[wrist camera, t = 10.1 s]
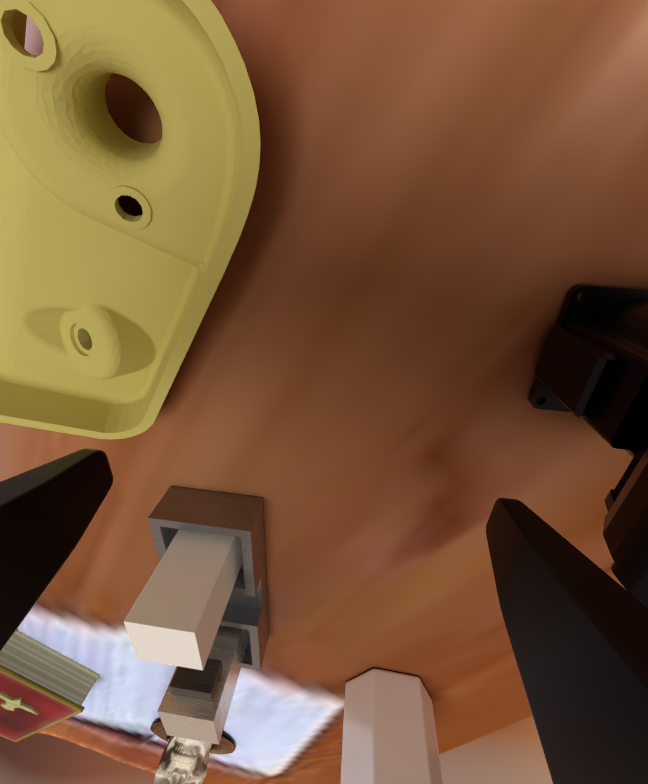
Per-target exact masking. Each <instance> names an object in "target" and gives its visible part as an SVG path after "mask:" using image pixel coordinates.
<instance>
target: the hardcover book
mask: <svg viewBox="0 0 648 784" xmlns="http://www.w3.org/2000/svg"><path fill="white" fill-rule="evenodd" d="M17 630H18V629H16V631H15V632H14V633H13V635H12V636H11V638H10V639H9V640H8V642H7V643H6V644H5V646H4V647H3V649H2V650H1V651H0V736H2V737H4V738H6V739H9V740H11V741H13V742H18V741H20V740H22V739H24V738H26V737H28V736H30V735H33V734H35V733H37V732H39V731H41V730H44V729H46V728H48V727H50V726H52V725H55V724H57V723H59V722H61V721H63V720H65V719H68V718H70V717H72V716H74V715H76V714H79V713H81V712H82V711H83V710H84V708H85V707H83V706H81V705H82V703H83V701H84V700H85V698H86V696H87V695H88V693H89V691H90V689H91V688H92V686H93V684H94V683H95V681H96V679H97V678H98V676H99V674H97V673H96V672H94V671H92V670H90V669H88V668H86V667H84V666H83V665H81V664H79V663H77V662H75V661H73V660H71V659H70V658H68V657H66V656H64V655H62V654H60V653H58V652H56V651H55V650H53V649H51V648H49V647H47V646H45V645H43V644H42V643H40V642H38V641H36V640H34V639H32V638H30V637H28V636H27V635H25V634H23V633H21V632H19V631H17Z"/></svg>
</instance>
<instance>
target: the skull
mask: <svg viewBox="0 0 648 784" xmlns="http://www.w3.org/2000/svg"><path fill="white" fill-rule="evenodd" d="M157 721H158V720H157ZM151 731H153V732H154V734H156V735H157V736H159V738H161V739H164V740H165V741H167V742H169V743H168V746H167V747H166V748H165V750H164V751H163V754H162V757H161V760H160V763H159V765H158V767H157V769H156V774H155V779H154V783H153V784H203V781H204V778H205V776H206V773H207V764H208V761H209V752H211V753H214V754H215V753H216V754H228V753H232V752H233V751H234V750H235V747H234V745H233V743H231V742H230V741H229V740H227V739H226V738H223V737H224V736H223V737H222V736H221V739H220V743H219V745H218V744H212V743H207V742H201V741H196V740H191V739H185V738H180V737H175V736H169V735H167V734H166V731H165V729H164V726H163V723H162V722H157V723H156V722H155V723H153V725H151ZM167 739H169V741H168V740H167Z"/></svg>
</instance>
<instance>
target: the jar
mask: <svg viewBox="0 0 648 784" xmlns="http://www.w3.org/2000/svg"><path fill="white" fill-rule="evenodd" d="M341 784H443V782H442V774H441V766H440V759H439V751H438V743H437V736H436V728H435V720H434V712H433V705H432V699H431V698H430V696H429V694H428V692H427V691H426V689H425V687H424V685H423V684H422V682H421V680H420V678H419V677H417V676H413V675H408V674H402V673H397V672H392V671H387V670H382V669H376V668H373V669H371V670H369V671H367V672H365V673H363V674H361V675H359V676H357V677H355V678H354V679H352V680H350V681H348V682H346V685H345V705H344V725H343V746H342V766H341Z"/></svg>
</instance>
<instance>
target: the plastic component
mask: <svg viewBox="0 0 648 784" xmlns="http://www.w3.org/2000/svg"><path fill="white" fill-rule="evenodd" d="M27 16H29V17H30V18H31V19H32V21H33V22H34V23H35V24H36V25H37V27H38V28H39V30H40V33H41V35H42V38H43V41H44V46H43V53H42V54H41V55H39V56H33V55H32V54H30V53H29V52H27V51H26V50H25V49H24V44H25V32H26V20H27ZM112 73H115V74H120V75H123V76H125V77H128V78H130V79H131V80H133V81H134V82H136V83H137V84H138V85H139V86H140V87H141V88H142V89H143V90H144V91H145V92H146V93H147V94H148V95H149V97H150V98H151V100H152V101H153V102H154V104H155V106H156V108H157V110H158V112H159V115H160V119H161V123H162V139H161V140H159V141H157V142H155V143H141V142H138V141H135V140H133V139H132V138H130V137H128V136H127V135H125V134H124V133H123V132H122V131H121V130H120V128H119V127H118V126H117V125H116V124H115V123H114V121H113V119H112V117H111V116H110V114H109V112H108V108H107V104H106V100H105V89H106V84H107V82H108V80H109V78H110V77H111V75H112ZM260 144H261V143H260V127H259V117H258V112H257V107H256V102H255V96H254V92H253V89H252V86H251V82H250V79H249V76H248V73H247V70H246V66H245V64H244V61H243V59H242V57H241V54H240V52H239V50H238V47H237V45H236V43H235V40H234V39H233V37H232V35H231V33H230V31H229V29H228V27H227V25H226V24H225V22H224V20H223V18H222V16H221V14H220V13H219V11H218V10H217V8H216V7H215V5H214V4H213V3H212V1H211V0H0V422H2V423H8V424H14V425H20V426H26V427H32V428H38V429H44V430H51V431H57V432H63V433H69V434H75V435H81V436H87V437H93V438H99V439H123V438H128V437H132V436H136V435H138V434H140V433H142V432H144V431H146V430H147V429H148V428H149V427H150V426H151V425H152V424H153V423H154V421H155V419H156V417H157V415H158V413H159V411H160V408H161V406H162V404H163V402H164V400H165V398H166V396H167V394H168V391H169V389H170V387H171V385H172V383H173V381H174V379H175V377H176V374H177V372H178V370H179V368H180V366H181V364H182V362H183V359H184V357H185V355H186V353H187V351H188V349H189V347H190V345H191V342H192V340H193V338H194V336H195V334H196V332H197V330H198V328H199V325H200V323H201V321H202V319H203V317H204V315H205V313H206V311H207V308H208V306H209V304H210V302H211V300H212V298H213V296H214V294H215V291H216V289H217V287H218V285H219V283H220V281H221V279H222V276H223V274H224V272H225V270H226V268H227V265H228V263H229V261H230V258H231V256H232V254H233V252H234V249H235V247H236V245H237V242H238V240H239V238H240V235H241V233H242V230H243V227H244V224H245V222H246V219H247V216H248V213H249V210H250V207H251V203H252V200H253V196H254V193H255V189H256V183H257V177H258V171H259V165H260ZM121 195H126V196H131V197H132V198H134V199H136V200H137V201H138V202H139V204H140V205H141V206H142V211H143V214H142V215H139V216H132V215H129V214H127V213H126V212H124V211H123V210H122V208H121V207H120V205H119V201H118V197H120V196H121ZM89 335H90V337H91V341H92V343H91V341H90V338H89Z"/></svg>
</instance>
